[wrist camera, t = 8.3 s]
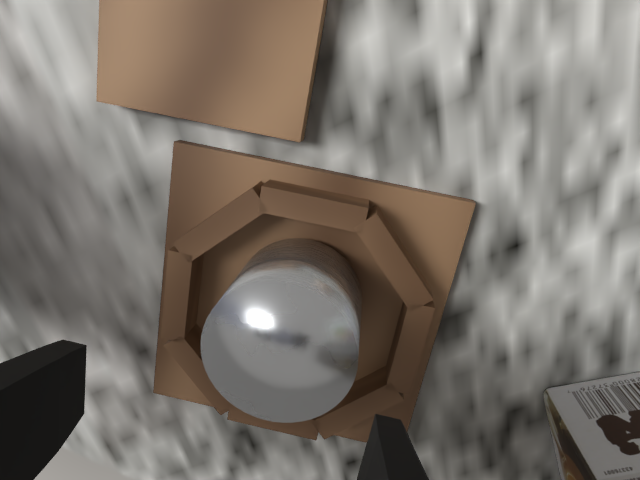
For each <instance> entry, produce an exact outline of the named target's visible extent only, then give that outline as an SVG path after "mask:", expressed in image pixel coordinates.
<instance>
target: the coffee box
mask: <svg viewBox="0 0 640 480" xmlns="http://www.w3.org/2000/svg"><path fill="white" fill-rule="evenodd" d="M543 396H544V402H545V407H546V412H547V416H548V421H549V426H550V430H551V435H552V439H553V444H554V449H555V453H556V458H557V462H558V467H559V472H560V476H561V480H640V372H636V373H630V374H625V375H619V376H613V377H608V378H602V379H597V380H591V381H586V382H580V383H574V384H569V385H564V386H558V387H552V388H548V389H546V390H545V391H544V394H543Z"/></svg>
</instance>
